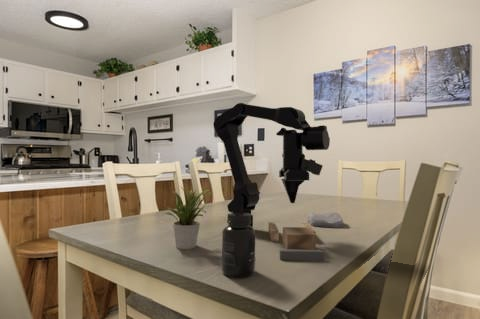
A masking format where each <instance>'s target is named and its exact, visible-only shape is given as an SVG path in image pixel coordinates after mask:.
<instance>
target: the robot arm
mask: <svg viewBox="0 0 480 319" xmlns="http://www.w3.org/2000/svg"><path fill="white" fill-rule="evenodd" d="M305 115H306V114H305V113H304V112H303V111H302V110H301V109H298V108H294V107H293V106H283V107H281V106H280V107H274V108H272V107H265V106H259V105H253V104H248V103H247V104H246V103H243V102H238V103H236V104H235V105H234V106H233V107H231V108H229V109H228V110H225V111H224V112H222V113H221V114H219V115H217V117H215V119H214V121H213V122H212V123H213V129H214V130H215V134H216V135H217V137H218V138H219V139H220V140H221V141H222V143H223V146H224V149H225V153H226V156H227V160H228V163H229V167H230V170H231V174H232V177H233V182H234V185H233V188H232V194H233V199H232V200H231V201H230V202H229V203H228V204H227V205H226V208H227V209H228V210H227V211H228V213H234V212H243V213H249V214H251V223H250V226H251V227H252V228H253V227H254V215H253V214H252V211H254V210H256V209H255V208H256V205H257V204H258V203H259V201H260V195H261V192H260V191H259V187H258V183H257V182H255V181H253V182H252V180H251V179H250V178H249V175H248V171H247V168H246V165H245V160H244V157H243V155H242V151H241V147H240V143H239V139H238V138H239V133H240V131H239V127H240V126H241V125H243V123H244V121H245V120H246V118H247V117H252V118H257V119H262V120H267V121H271V122H272V121H273V122H275V123H276V124H279V125H282V126H283V127H281V128H280V130H278V131H277V132H276V133H275V134H276V136H278V137H279V136H280V137H282V153H281V156H282V157H281V158H282V167H281V168H280V170H279V171H278V177H279V178H281V181H282V182H281V183H282V184H283V187H284V189H285V191H286V192H285V193H286V195H287V197H288V200H289V203H291V204H295V202H296V199H297V195H298V190H299V187H300V186H301V184H303V183H304V182H305V181H310V173H311V174H312V175H315V176H320V174H321V172H322V169H323V166H324V165H323V164H321V163H318V162H316V160H313V159H311V158H310V159H306V155H305V154H304V153H303V148H305V150H306V151H325V150H329V149H330V148H329V147H330V143H331V142H330V141H331V140H330V136H329V132H328V130H327V129H328V127H327V125H322V124H321V125H317V126H311V125H310V124H309V122H308V121H307V119H306V116H305ZM285 127H287V128H291V129H287V128H285ZM298 130H299V132H298ZM300 131H302V132H300ZM253 229H254V228H253Z"/></svg>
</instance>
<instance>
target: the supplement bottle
mask: <svg viewBox="0 0 480 319" xmlns="http://www.w3.org/2000/svg"><path fill="white" fill-rule="evenodd" d="M251 215H252V213H251V214H249V213H243V212H234V213H232V212H228V213H227V220H226V223H227V224H228V225H227V226H225V227H224V228H223V230H222V232H221V233H222V235H221V236H222V239H221V241H222V242H221V272H222V273H223V274H224V275H225V276H227V277H229V278H238V279H240V278H247V277H251V276H252V275H253V274H254V273H255V270H256V230H255V229H254V228H252V227H251V226H250V223H251Z"/></svg>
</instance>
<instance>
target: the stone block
mask: <svg viewBox="0 0 480 319" xmlns="http://www.w3.org/2000/svg"><path fill="white" fill-rule="evenodd" d="M307 223H308V224H310V223H311V224H310V226H312V225H313V227H323V226H324V228H325V227H326V228H334V227H336V228H344V220H343V217H342V216H341V214H340V213H338V212H325V213H322V214H321V213H315V212H311V213H309V214H308V215H307Z"/></svg>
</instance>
